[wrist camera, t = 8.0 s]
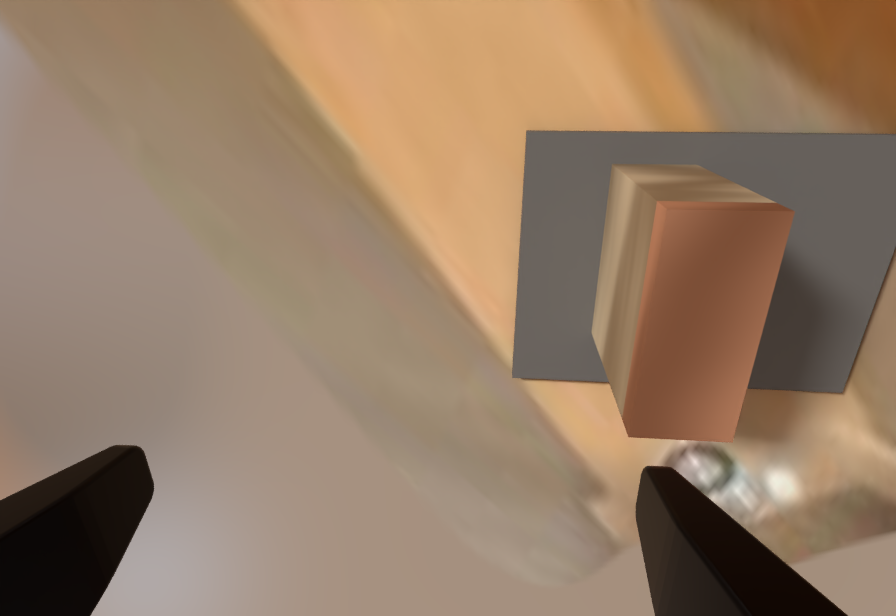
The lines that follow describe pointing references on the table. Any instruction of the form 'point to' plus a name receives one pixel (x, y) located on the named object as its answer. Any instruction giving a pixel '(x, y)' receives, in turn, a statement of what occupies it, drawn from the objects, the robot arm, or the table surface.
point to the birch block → (684, 296)
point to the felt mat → (751, 166)
